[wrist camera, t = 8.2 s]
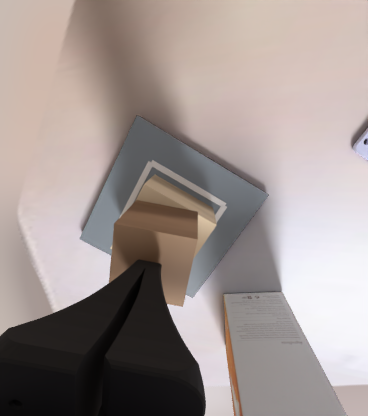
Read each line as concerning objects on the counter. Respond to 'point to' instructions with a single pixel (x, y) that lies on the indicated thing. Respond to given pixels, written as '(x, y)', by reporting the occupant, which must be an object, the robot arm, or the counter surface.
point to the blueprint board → (183, 179)
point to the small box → (273, 360)
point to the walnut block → (157, 244)
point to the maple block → (179, 205)
